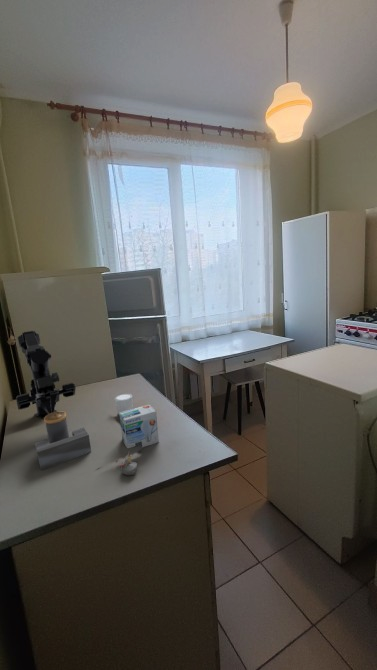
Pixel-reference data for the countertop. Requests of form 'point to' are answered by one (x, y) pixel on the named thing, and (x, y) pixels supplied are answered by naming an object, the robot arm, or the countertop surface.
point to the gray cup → (56, 426)
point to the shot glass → (124, 402)
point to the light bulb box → (139, 426)
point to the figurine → (128, 466)
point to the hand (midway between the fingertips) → (52, 417)
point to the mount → (63, 449)
